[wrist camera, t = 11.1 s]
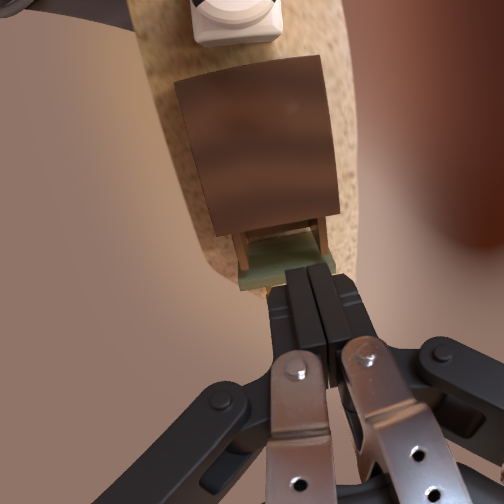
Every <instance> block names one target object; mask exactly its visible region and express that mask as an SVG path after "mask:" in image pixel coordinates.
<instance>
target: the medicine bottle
mask: <svg viewBox="0 0 504 504" xmlns="http://www.w3.org/2000/svg"><path fill="white" fill-rule="evenodd" d="M190 5H191V15H192V24H193V33H194V40H195V41H196V42H197V43H199V44H200V45H202V46H204V47H205V48H208V47H215V46H224V45H233V44H243V43H256V42H272V41H274V40H275V39H276V38H278V37H279V36H280V35H281V34H282V33H283V22H282V12H281V2H280V0H190Z"/></svg>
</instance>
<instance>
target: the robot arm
mask: <svg viewBox="0 0 504 504" xmlns="http://www.w3.org/2000/svg"><path fill="white" fill-rule="evenodd" d="M16 1H17V0H0V8H4V7H7V6H9V5H11V4H13V3H14V2H16ZM284 272H285V278H286V284H287V285H283V286H277V287H272V289H271V291H270V293H269V295H268V298H267V302H268V310H269V319H270V328H271V338H272V346H273V363H272V365H271V367H270V369H269V370H268V371H267V373H265V374H264V375H263V376H262V377H261V378H259V379H257V380H255V381H253V382H251V383H248V384H246V385H244V386H240V385H239V384H237V383H234V382H230V381H222V382H217V383H214V384H212V385H210V386H208V387H207V388H206V389H204V390H203V391H202V392H201V394H200V395H199V396H198V397H197V398H196V399H195V400H194V401H193V402H192V403H191V404H190V405H189V407H188V408H187V409H186V410H185V411H184V412H183V413H182V414H181V415H180V416H179V417H178V418H177V419H176V420H175V421H174V423H172V425H171V426H170V427H169V428H168V429H167V430H166V431H165V432H164V433H163V434H162V435H161V436H160V437H159V438H158V439H157V440H156V441H155V442H154V443H153V444H152V445H151V446H150V447H149V448H148V449H147V450H146V451H145V452H144V453H143V454H142V455H141V456H140V457H139V458H138V459H137V460H136V461H135V462H134V463H133V464H132V465H131V466H130V467H129V468H128V469H127V471H125V472H124V473H123V474H122V475H121V476H120V477H119V478H118V479H117V480H116V481H115V482H114V483H113V484H112V485H111V486H110V487H109V488H108V489H106V490H105V491H104V492H103V493H102V494H101V495H100V496H99V497H98V498H97V499H96V500H95V501H94V502H93V503H91V504H218V503H219V502H220V501H221V500H222V498H223V497H224V496H225V495H226V494H227V493H228V492H229V490H230V489H231V488H232V487H233V486H234V485H235V483H236V482H237V481H238V480H239V479H240V477H241V476H242V475H243V474H244V473H245V471H246V470H247V469H248V468H249V466H250V465H251V464H252V463H253V461H254V460H255V459H256V458H257V456H258V455H259V454H260V452H261V451H262V450H263V448H264V447H265V446H267V448H266V492H265V494H266V495H265V502H264V503H262V504H504V486H502V485H500V484H498V483H497V482H495V481H493V480H491V479H490V478H488V477H486V476H484V475H482V474H481V473H479V472H477V471H475V470H474V469H472V468H470V467H468V466H466V465H464V464H461V463H459V462H455V459H454V457H453V455H452V453H451V450H450V448H449V446H448V444H447V441H446V439H448V440H450V441H452V442H454V443H456V444H458V445H459V446H461V447H463V448H465V449H467V450H469V451H470V452H472V453H474V454H476V455H478V456H480V457H482V458H484V459H486V460H488V461H490V462H492V463H494V464H496V465H498V466H500V467H501V482H502V483H503V484H504V364H503V363H501V362H499V361H497V360H495V359H493V358H491V357H489V356H487V355H485V354H482V353H480V352H478V351H476V350H474V349H472V348H470V347H468V346H466V345H463V344H461V343H459V342H457V341H455V340H453V339H451V338H448V337H441V336H440V337H433V338H430V339H429V340H427V341H426V342H424V344H423V345H422V346H421V348H420V349H398V348H393V347H391V346H388V345H387V344H386V343H385V342H384V341H383V340H381V339H379V337H378V336H377V334H376V332H375V329H374V327H373V325H372V322H371V320H370V318H369V315H368V313H367V311H366V308H365V306H364V304H363V303H362V299H361V297H360V295H359V294H358V290H357V288H356V286H355V284H354V282H353V281H352V280H351V279H350V278H349V277H347V276H346V275H345V274H344V273H343V274H338V275H333V276H332V275H331V272H330V269H329V267H328V264H327V263H326V262H325V263H319V264H314V265H309V266H306V269H305V267H299V268H294V269H289V270H284ZM328 380H329V384H330V388H333V387H338V389H339V393H340V397H341V400H340V404H341V405H340V406H341V410H342V413H343V416H344V419H345V422H346V425H347V428H348V431H349V434H350V437H351V441H352V444H353V447H354V450H355V453H356V457H357V465H358V471H359V475H360V479H361V482H362V484H358V485H336V480H335V468H334V457H333V447H332V439H331V438H332V437H331V431H330V427H329V418H328V410H327V402H326V389H328ZM445 438H446V439H445Z"/></svg>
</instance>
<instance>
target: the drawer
mask: <svg viewBox="0 0 504 504" xmlns="http://www.w3.org/2000/svg"><path fill="white" fill-rule="evenodd" d="M306 227H310V229H311V232H306V233H301V234H295V235H290V236H285V237H280V238H274V239H269V240H264V241H259V242H253V243H248V239H249V238H254V237H259V236H264V235H269V234H275V233H280V232H285V231H290V230H296V229H301V228H306ZM231 235H232V239H233V242H234V246H235V250H236V254H237V257H238V284H239V288H240V291H245V290H250V289H256V288H261V287H266V291H267V294H266V299H267V298H268V295H269V293H270V291H271V289H272V288H271V286H272V285H278V284H283V283H286V278H285V272H284V270H289V269H294V268H299V267H305V269H306V266H309V265H314V264H319V263H325V262H326V263H327V264H328V267H329V269H330V272H331V274H334V273H336V264H335V262H334V259H333V257H332V255H331V252H330V250H329V248H328V239H327V228H326V218H325V217H319V218H314V219H309V220H303V221H298V222H293V223H287V224H282V225H277V226H271V227H266V228H261V229H256V230H251V231H246V232H241V233H235V234H231ZM267 304H268V302H267Z"/></svg>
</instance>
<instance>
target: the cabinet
mask: <svg viewBox="0 0 504 504" xmlns="http://www.w3.org/2000/svg"><path fill="white" fill-rule="evenodd" d="M174 85H175V89H176V93H177V97H178V101H179V105H180V108H181V112H182V116H183V120H184V123H185V127H186V131H187V135H188V138H189V142H190V146H191V149H192V153H193V157H194V160H195V164H196V167H197V171H198V174H199V178H200V182H201V185H202V189H203V192H204V196H205V199H206V203H207V206H208V210H209V213H210V216H211V220H212V223H213V227H214V230H215V234H216V237H220V236H225V235H230V234H235V233H241V232H246V231H251V230H256V229H261V228H266V227H271V226H277V225H282V224H287V223H293V222H298V221H303V220H309V219H314V218H319V217H325V216H330V215H336V214H340V204H339V192H338V181H337V171H336V162H335V153H334V145H333V137H332V129H331V122H330V114H329V108H328V101H327V94H326V88H325V82H324V76H323V70H322V65H321V59H320V55H309V56H301V57H293V58H285V59H278V60H272V61H266V62H260V63H254V64H249V65H244V66H239V67H234V68H229V69H224V70H220V71H215V72H211V73H207V74H203V75H199V76H195V77H191V78H188V79H184V80H180V81H177V82H174Z"/></svg>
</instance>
